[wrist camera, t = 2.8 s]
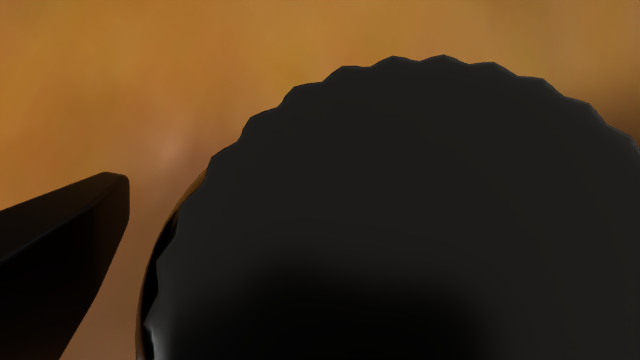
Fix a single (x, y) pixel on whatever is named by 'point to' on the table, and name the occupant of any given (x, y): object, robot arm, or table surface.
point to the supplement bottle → (405, 227)
